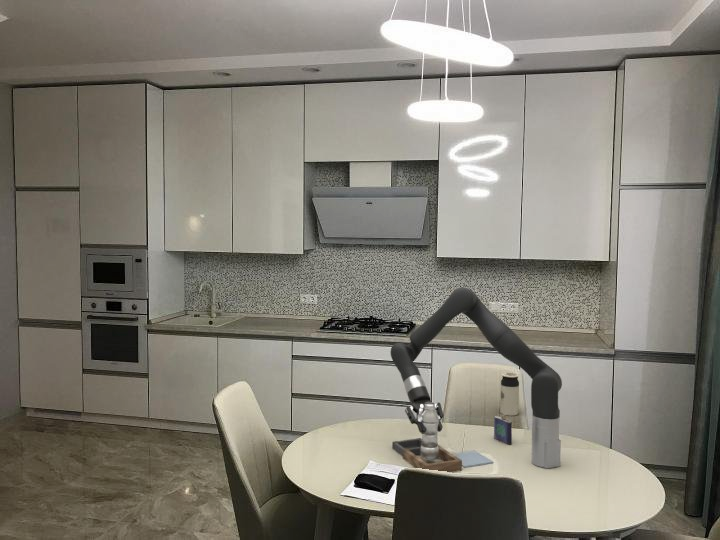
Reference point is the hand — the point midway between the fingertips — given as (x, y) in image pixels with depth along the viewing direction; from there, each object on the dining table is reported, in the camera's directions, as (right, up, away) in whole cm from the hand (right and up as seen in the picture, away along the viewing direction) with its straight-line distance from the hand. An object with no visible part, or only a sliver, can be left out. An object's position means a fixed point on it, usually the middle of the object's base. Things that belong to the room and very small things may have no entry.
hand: (432, 431), depth 216 cm
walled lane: (0, -12, +1) cm, 12 cm away
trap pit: (-6, -11, +14) cm, 19 cm away
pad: (+14, -12, +5) cm, 19 cm away
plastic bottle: (-1, -10, +2) cm, 11 cm away
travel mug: (+43, -8, +62) cm, 76 cm away
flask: (+31, -11, +25) cm, 41 cm away
